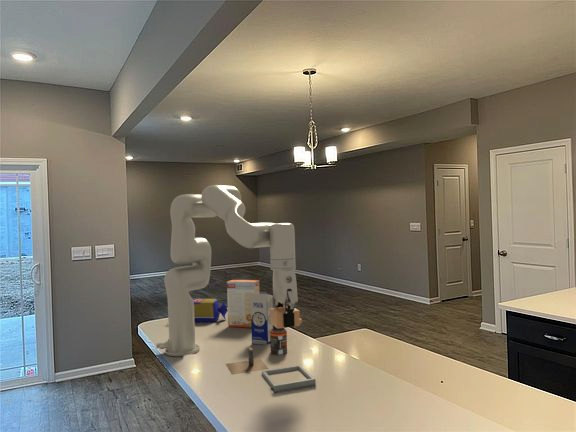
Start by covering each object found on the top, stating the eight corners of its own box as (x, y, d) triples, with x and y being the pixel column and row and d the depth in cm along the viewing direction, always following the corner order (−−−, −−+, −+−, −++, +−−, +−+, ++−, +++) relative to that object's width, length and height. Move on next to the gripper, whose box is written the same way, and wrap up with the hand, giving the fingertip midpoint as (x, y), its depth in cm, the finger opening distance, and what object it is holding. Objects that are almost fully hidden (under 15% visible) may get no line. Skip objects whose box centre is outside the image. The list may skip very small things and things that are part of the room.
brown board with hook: (231, 377, 128) (231, 356, 128) (225, 366, 138) (225, 347, 138) (268, 371, 132) (268, 351, 132) (260, 361, 142) (259, 342, 142)
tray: (274, 393, 116) (274, 386, 116) (262, 377, 128) (261, 370, 128) (315, 385, 120) (315, 379, 120) (300, 371, 132) (299, 364, 132)
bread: (181, 318, 210) (180, 297, 210) (229, 317, 207) (228, 297, 207) (173, 323, 200) (173, 301, 200) (224, 323, 197) (223, 301, 197)
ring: (277, 328, 119) (276, 313, 119) (270, 323, 126) (269, 308, 126) (305, 325, 122) (304, 310, 122) (296, 319, 129) (296, 305, 129)
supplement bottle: (285, 358, 145) (284, 325, 145) (268, 357, 146) (268, 325, 146) (288, 352, 151) (287, 321, 151) (272, 352, 152) (272, 321, 152)
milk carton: (251, 344, 162) (249, 293, 162) (259, 339, 168) (257, 290, 169) (267, 345, 160) (266, 293, 160) (274, 340, 166) (273, 290, 166)
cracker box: (261, 325, 191) (259, 279, 191) (255, 328, 185) (254, 281, 185) (233, 323, 195) (232, 279, 195) (227, 326, 190) (226, 281, 190)
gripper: (305, 266, 117) (307, 329, 117) (285, 261, 133) (287, 316, 133) (280, 268, 115) (282, 332, 114) (263, 262, 131) (264, 318, 131)
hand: (284, 323), depth 124 cm, fingers closed on ring, 7 cm apart
